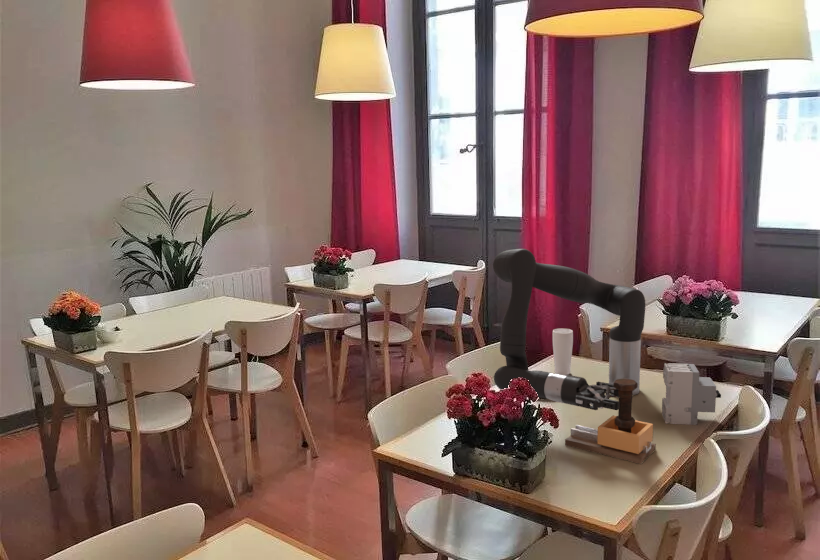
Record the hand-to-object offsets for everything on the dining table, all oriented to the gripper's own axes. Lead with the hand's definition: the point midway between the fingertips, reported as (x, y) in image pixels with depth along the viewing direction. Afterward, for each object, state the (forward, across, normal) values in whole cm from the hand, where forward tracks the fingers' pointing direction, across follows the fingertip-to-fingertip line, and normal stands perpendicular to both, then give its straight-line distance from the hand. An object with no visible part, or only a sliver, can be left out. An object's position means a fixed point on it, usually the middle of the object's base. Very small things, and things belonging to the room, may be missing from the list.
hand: (625, 400), depth 174 cm
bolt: (0, 0, +10) cm, 10 cm away
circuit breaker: (+7, +30, +14) cm, 34 cm away
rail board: (-4, 0, +13) cm, 14 cm away
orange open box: (0, 0, +11) cm, 11 cm away
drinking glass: (-41, +48, +14) cm, 64 cm away
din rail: (-4, 0, +12) cm, 12 cm away
